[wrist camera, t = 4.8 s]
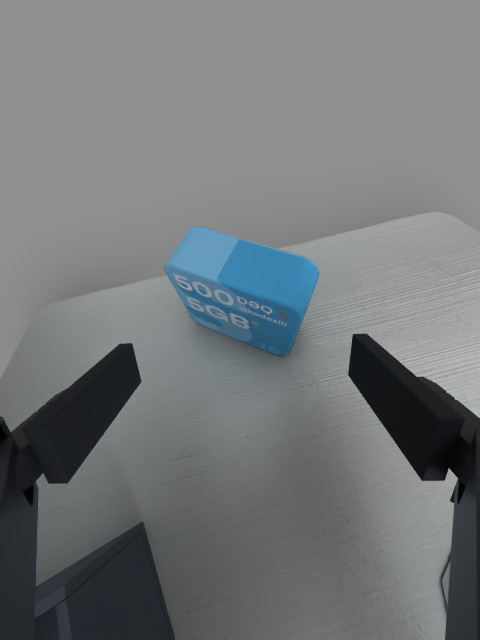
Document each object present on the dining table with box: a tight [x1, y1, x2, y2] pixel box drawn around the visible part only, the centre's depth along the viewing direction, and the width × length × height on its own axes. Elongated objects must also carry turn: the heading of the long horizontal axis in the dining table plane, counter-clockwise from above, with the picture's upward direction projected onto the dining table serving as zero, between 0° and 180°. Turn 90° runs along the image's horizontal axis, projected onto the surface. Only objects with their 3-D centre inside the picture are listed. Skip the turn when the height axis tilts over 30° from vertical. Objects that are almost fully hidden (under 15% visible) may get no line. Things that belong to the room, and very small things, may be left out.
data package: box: [164, 226, 319, 356], centre depth 23 cm, size 12×4×12 cm, turn 66°
